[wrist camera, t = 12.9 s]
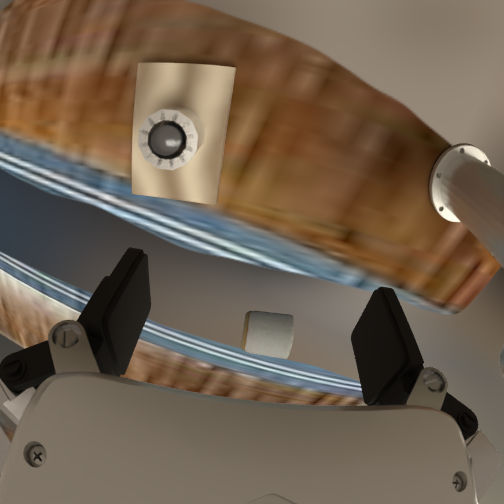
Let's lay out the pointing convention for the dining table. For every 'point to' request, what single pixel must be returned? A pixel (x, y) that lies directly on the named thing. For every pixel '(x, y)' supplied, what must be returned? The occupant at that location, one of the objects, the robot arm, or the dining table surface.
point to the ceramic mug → (268, 334)
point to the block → (162, 96)
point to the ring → (191, 127)
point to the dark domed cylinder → (168, 138)
